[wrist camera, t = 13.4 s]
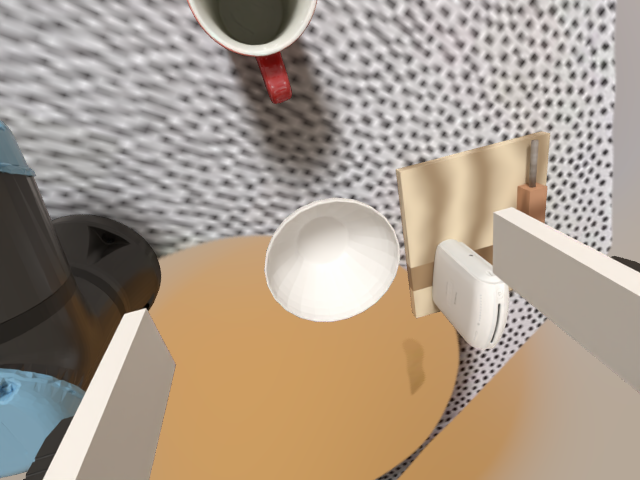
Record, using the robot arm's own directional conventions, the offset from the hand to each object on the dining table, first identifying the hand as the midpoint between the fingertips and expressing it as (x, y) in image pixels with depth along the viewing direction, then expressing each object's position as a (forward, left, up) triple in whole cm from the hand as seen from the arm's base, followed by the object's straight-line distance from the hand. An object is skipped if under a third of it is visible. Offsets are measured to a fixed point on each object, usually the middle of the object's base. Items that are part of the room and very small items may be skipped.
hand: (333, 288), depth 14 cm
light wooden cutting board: (+24, -19, -32) cm, 44 cm away
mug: (+1, +11, -32) cm, 34 cm away
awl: (+31, -14, -30) cm, 45 cm away
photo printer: (+19, -23, -30) cm, 43 cm away
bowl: (+3, -14, -32) cm, 35 cm away
